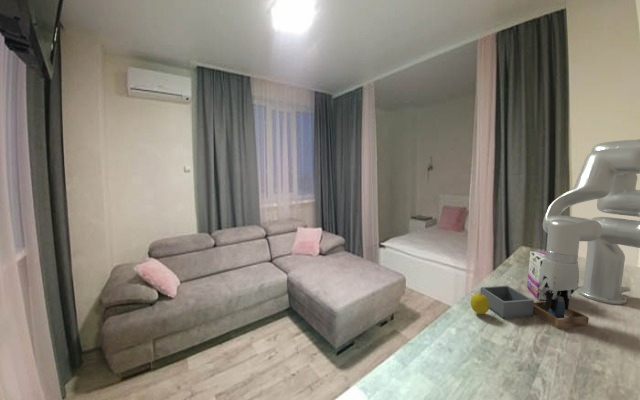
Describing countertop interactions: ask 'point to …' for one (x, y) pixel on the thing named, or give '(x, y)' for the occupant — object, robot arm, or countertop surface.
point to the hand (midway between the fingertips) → (556, 307)
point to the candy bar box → (535, 274)
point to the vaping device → (558, 307)
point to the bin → (508, 302)
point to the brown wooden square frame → (573, 320)
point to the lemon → (479, 303)
